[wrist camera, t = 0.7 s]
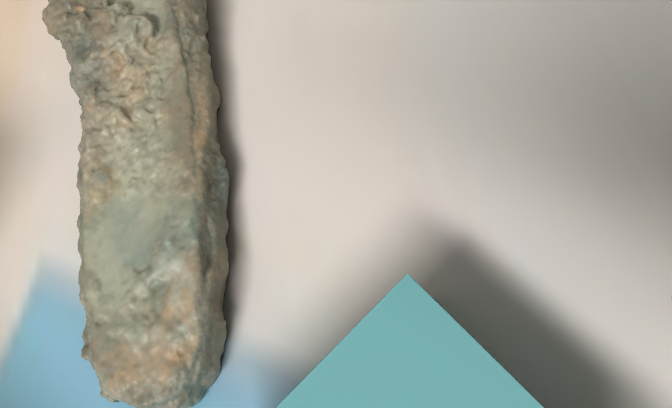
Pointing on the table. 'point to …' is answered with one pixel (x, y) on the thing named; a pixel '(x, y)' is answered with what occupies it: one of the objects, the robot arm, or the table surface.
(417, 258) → the table surface
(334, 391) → the teal plinth
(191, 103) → the long grey stone
